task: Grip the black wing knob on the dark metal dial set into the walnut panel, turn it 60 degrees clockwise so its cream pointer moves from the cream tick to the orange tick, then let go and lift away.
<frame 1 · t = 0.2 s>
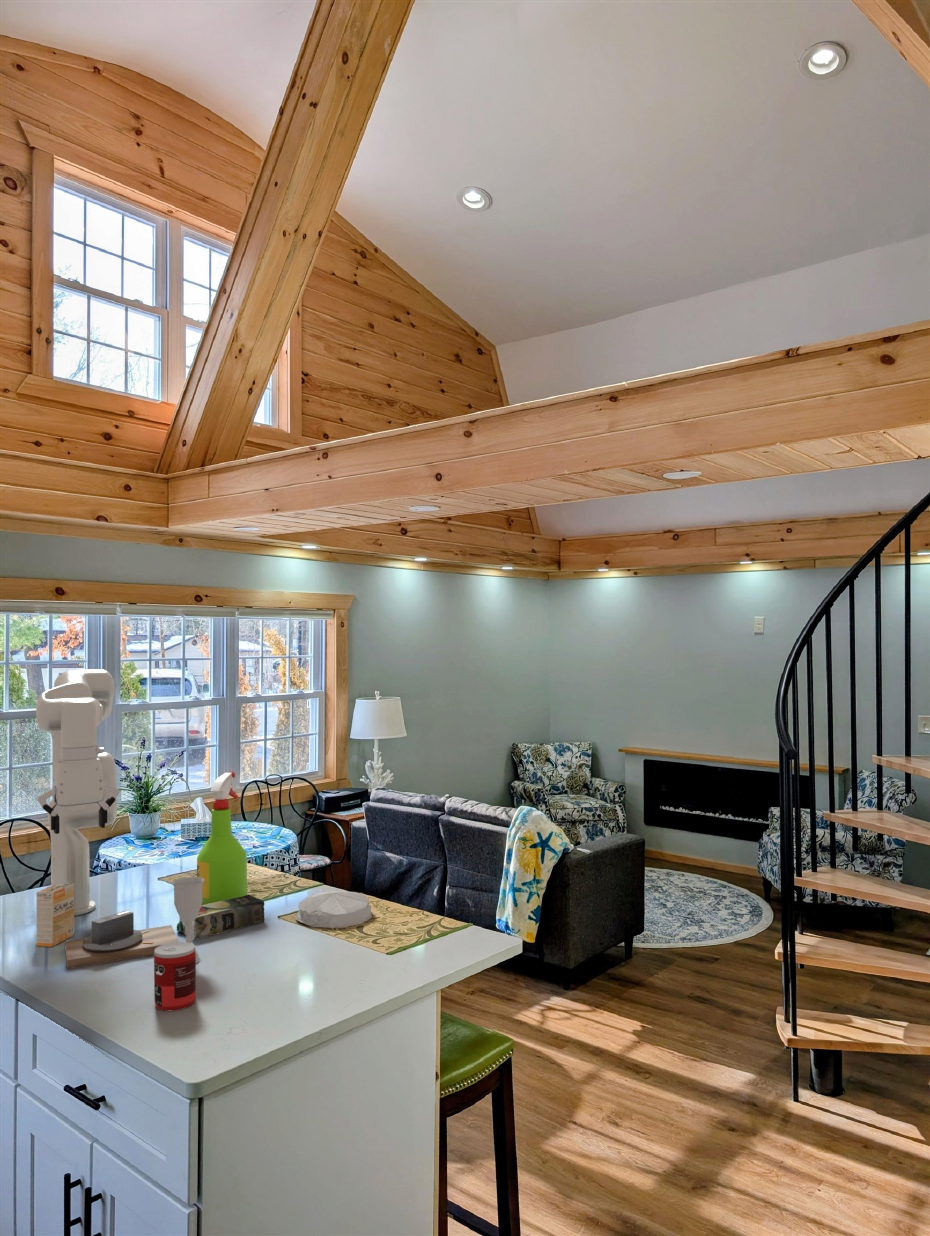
hand: (79, 830, 197), 30 cm above the countertop, tool pointing down, fingers open, 9 cm apart
supplement box: (55, 942, 212), on the countertop
dial panel: (122, 950, 205), on the countertop
juice carton: (221, 928, 221), on the countertop
chalice: (188, 961, 197), on the countertop
white round cake: (334, 918, 227), on the countertop
canned food: (175, 1004, 174), on the countertop
dial: (112, 929, 204), point 5 cm above the countertop, hinge at 0.0°
spray bottle: (225, 897, 246), on the countertop
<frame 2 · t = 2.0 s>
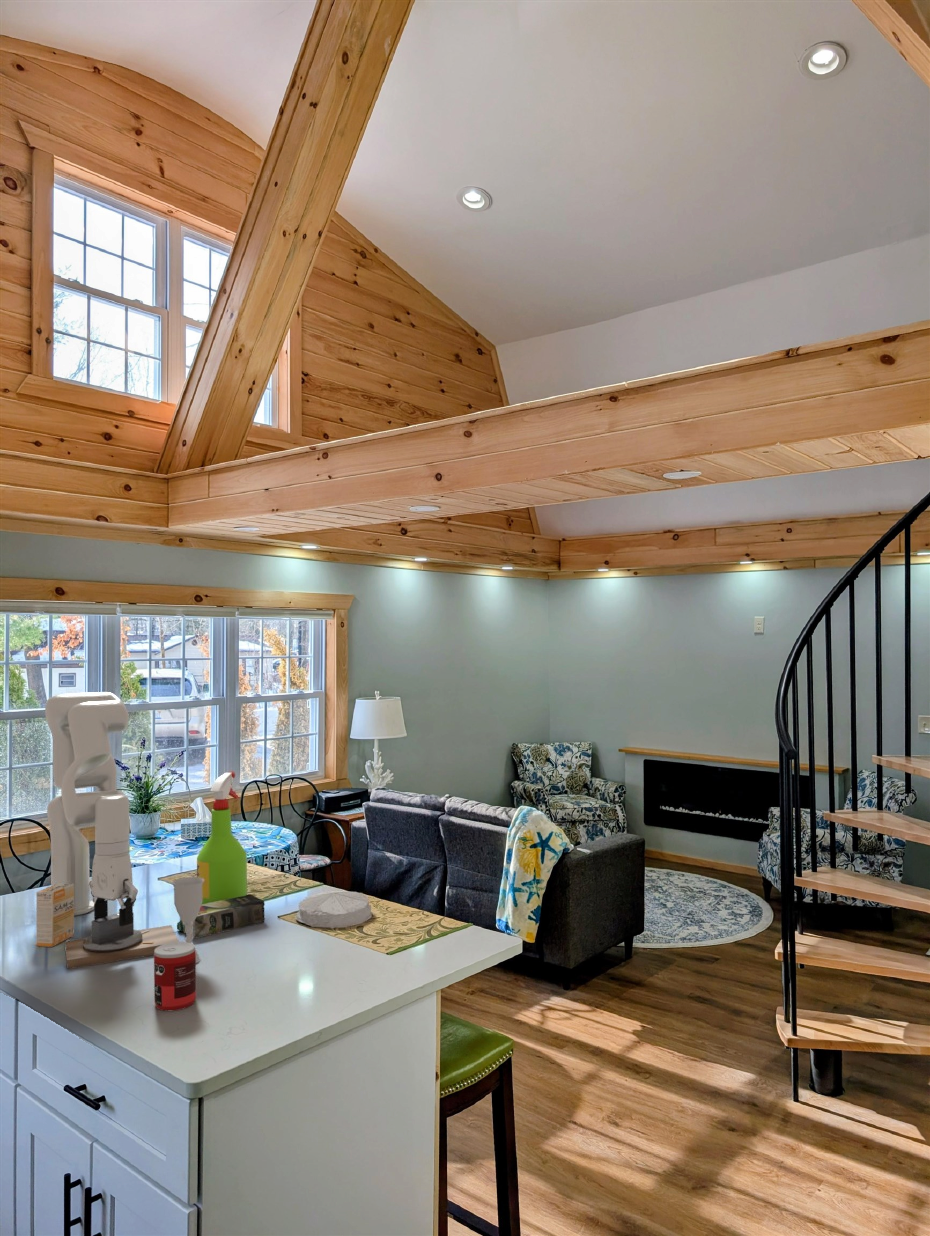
hand: (113, 921, 204), 7 cm above the countertop, tool pointing down, fingers open, 9 cm apart
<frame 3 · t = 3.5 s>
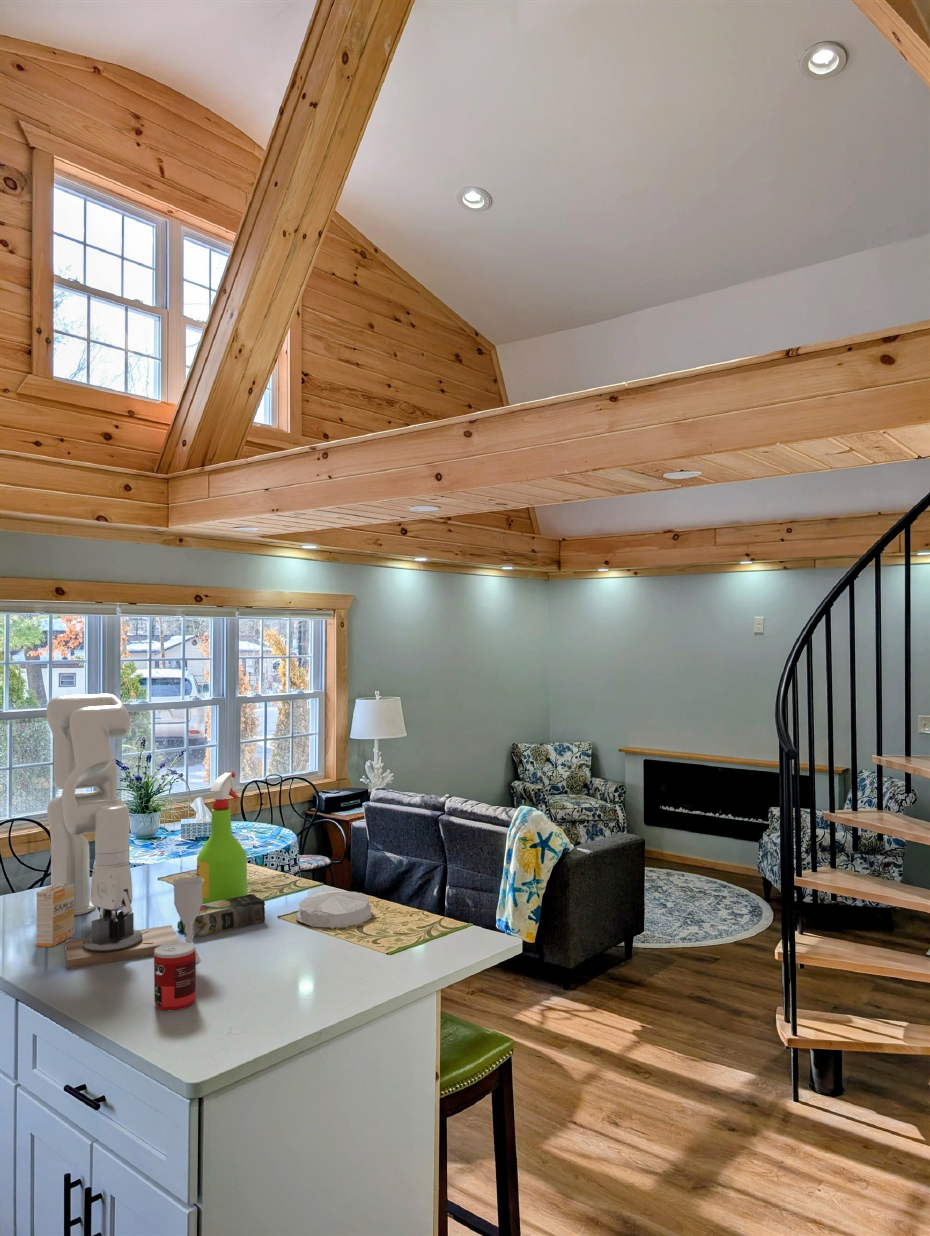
hand: (112, 935, 204), 4 cm above the countertop, tool pointing down, fingers closed on dial, 3 cm apart
dial: (112, 929, 204), point 5 cm above the countertop, hinge at 0.0°, touching gripper
everything else where it was.
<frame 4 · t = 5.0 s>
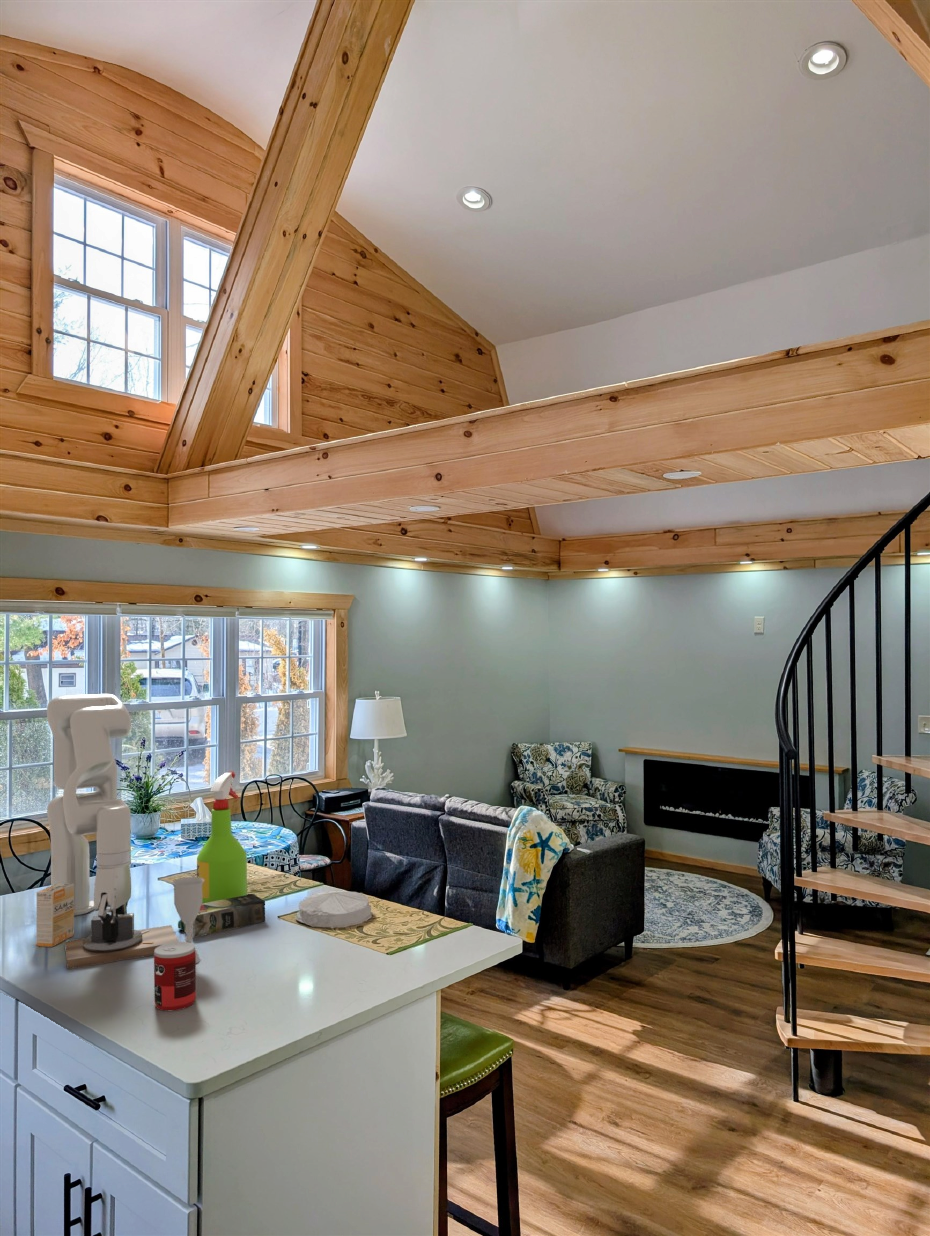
hand: (114, 935, 204), 4 cm above the countertop, tool pointing down, fingers closed on dial, 4 cm apart
dial: (112, 929, 204), point 5 cm above the countertop, hinge at -42.7°, touching gripper
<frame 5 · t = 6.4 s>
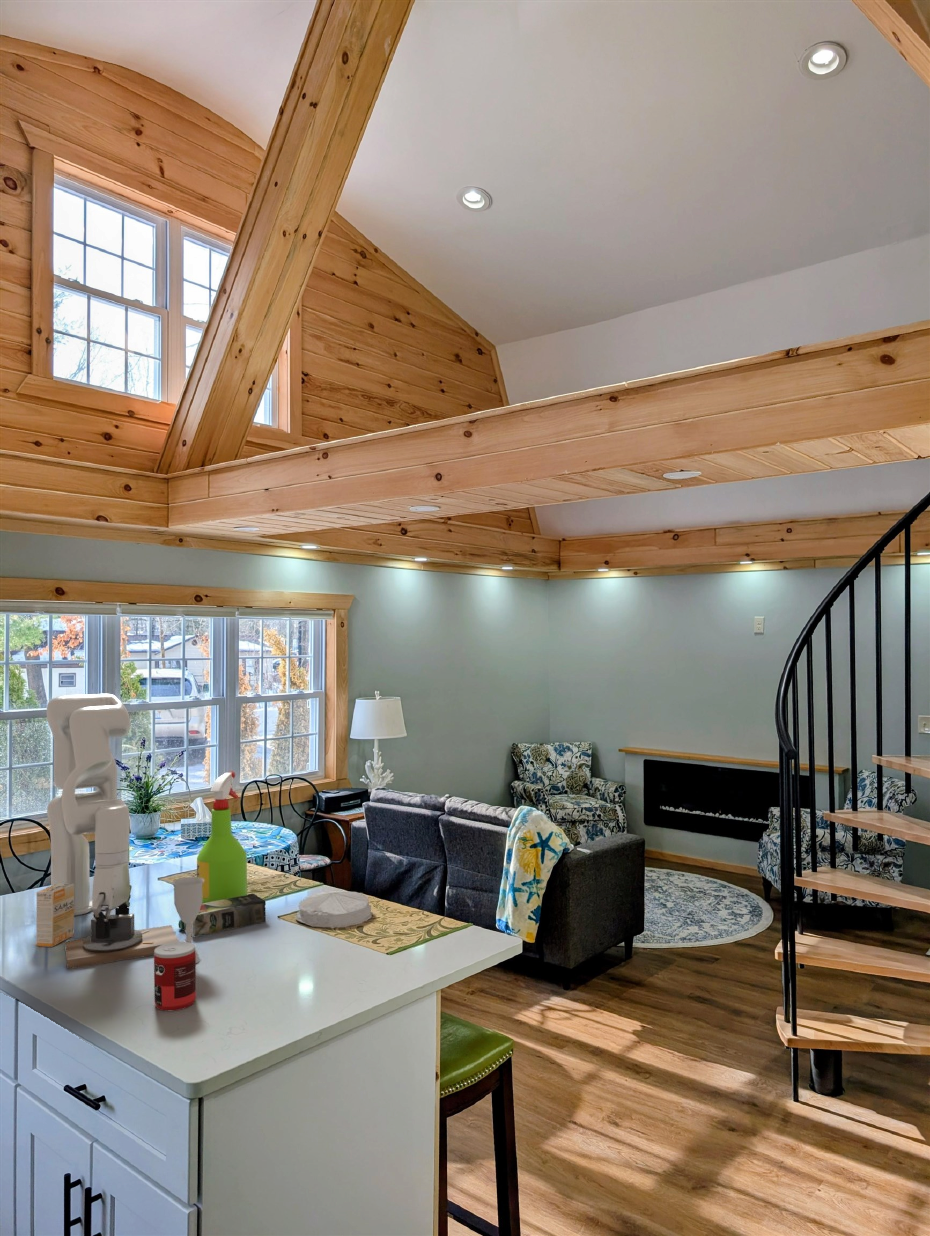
hand: (112, 931, 204), 5 cm above the countertop, tool pointing down, fingers open, 9 cm apart
dial: (112, 929, 204), point 5 cm above the countertop, hinge at -49.0°
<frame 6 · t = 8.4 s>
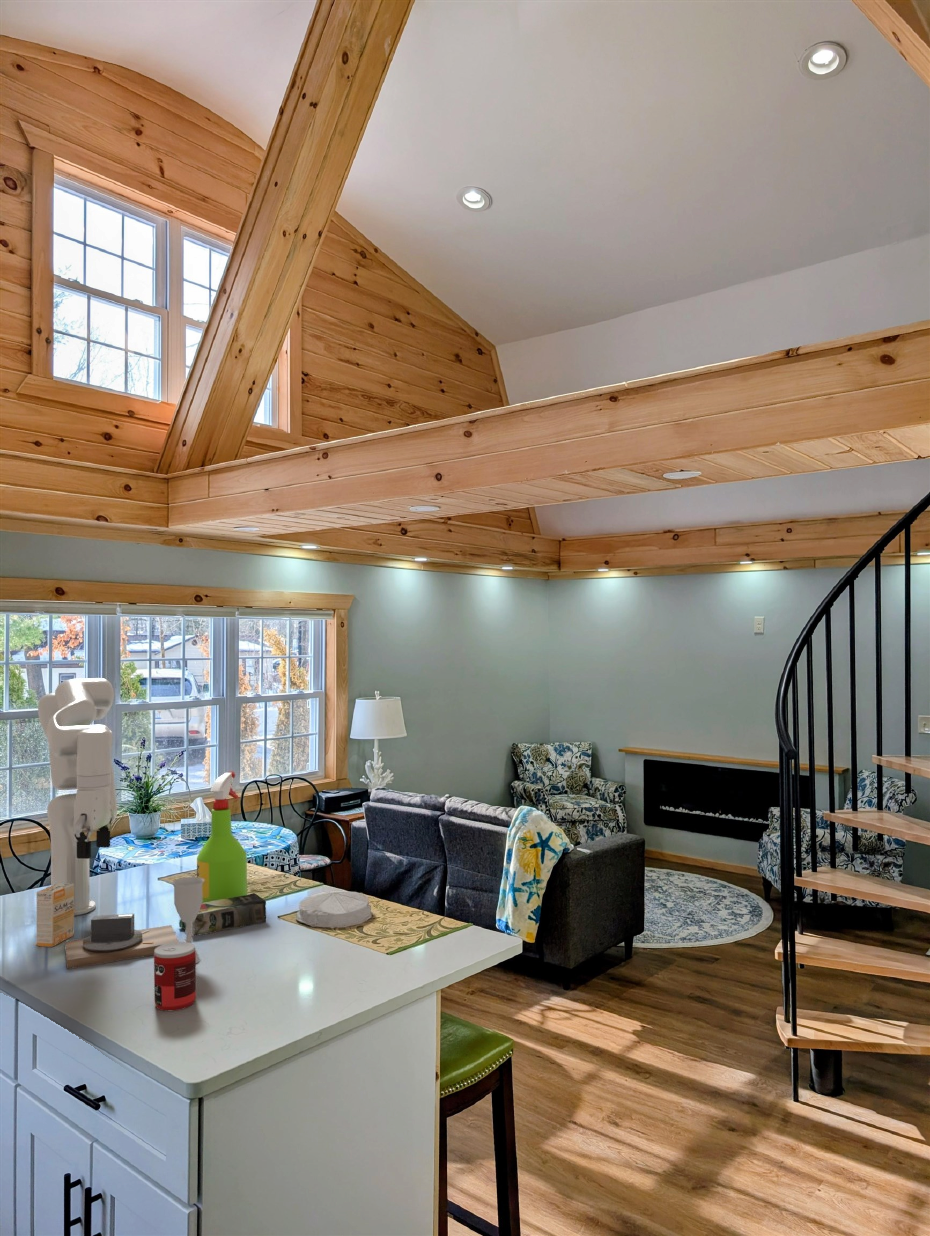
hand: (93, 852, 207), 23 cm above the countertop, tool pointing down, fingers open, 9 cm apart
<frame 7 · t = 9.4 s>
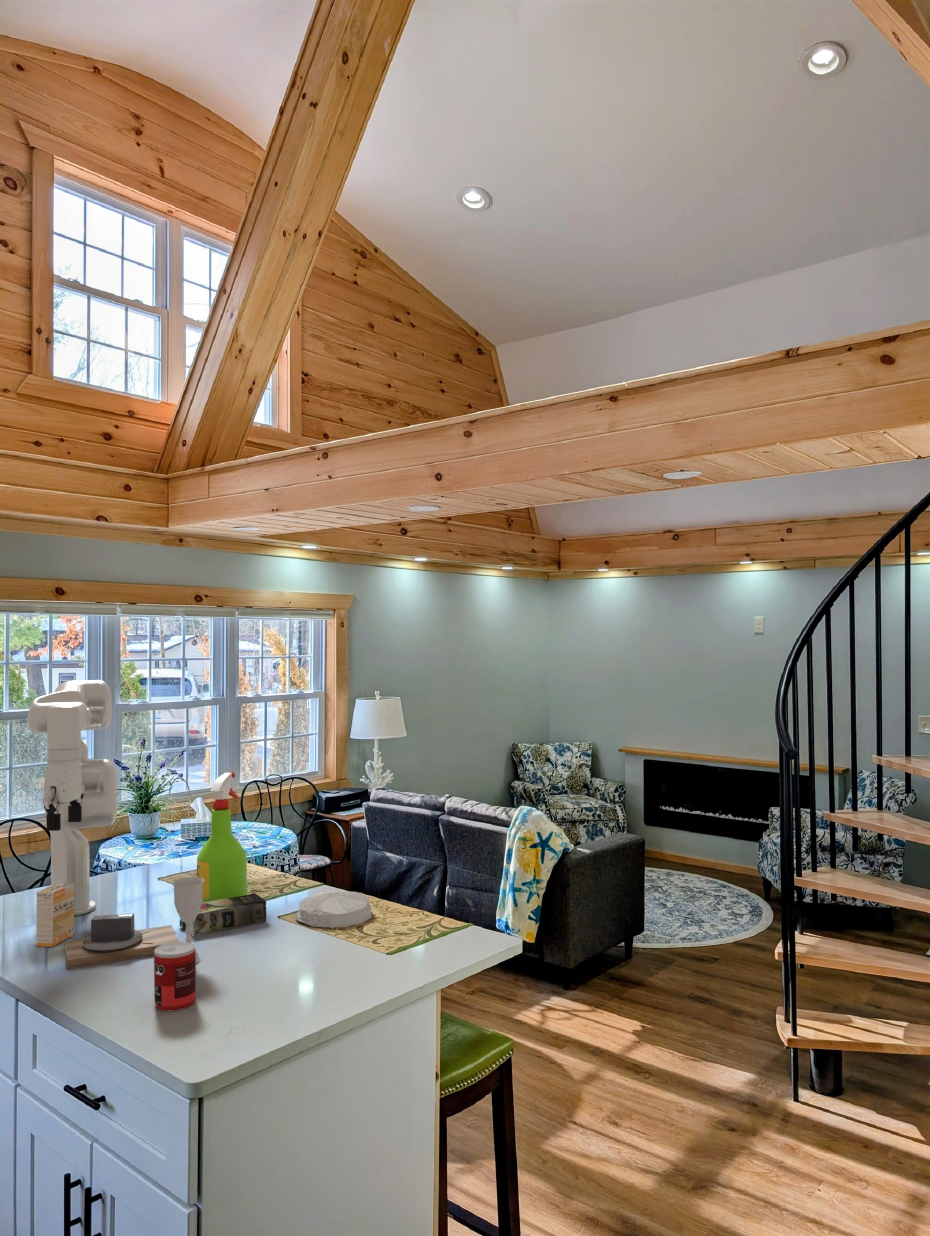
hand: (64, 826, 211), 28 cm above the countertop, tool pointing down, fingers open, 9 cm apart
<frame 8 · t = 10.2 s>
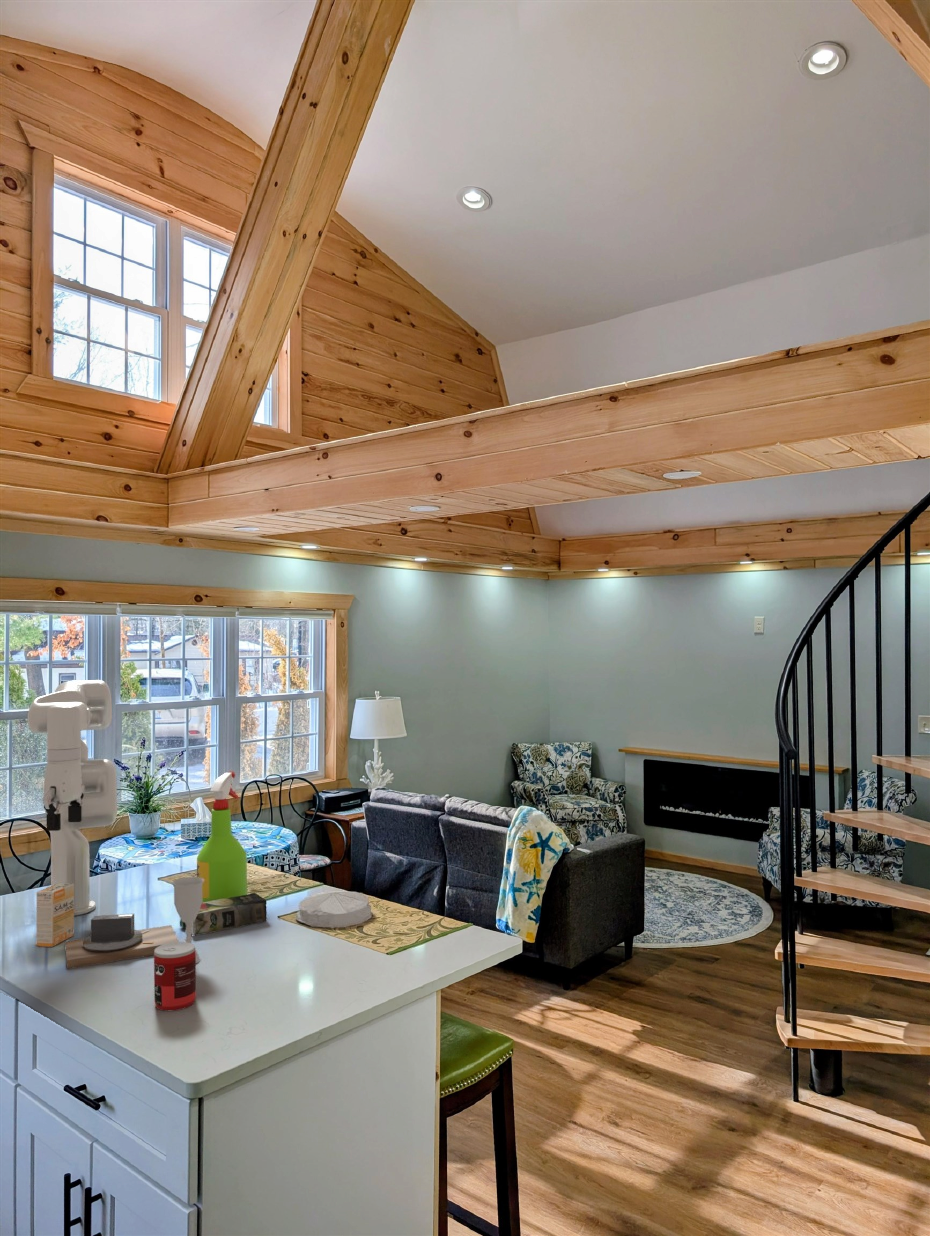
hand: (64, 826, 211), 28 cm above the countertop, tool pointing down, fingers open, 9 cm apart
at the end: dial at -49° (first picture: +0°) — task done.
